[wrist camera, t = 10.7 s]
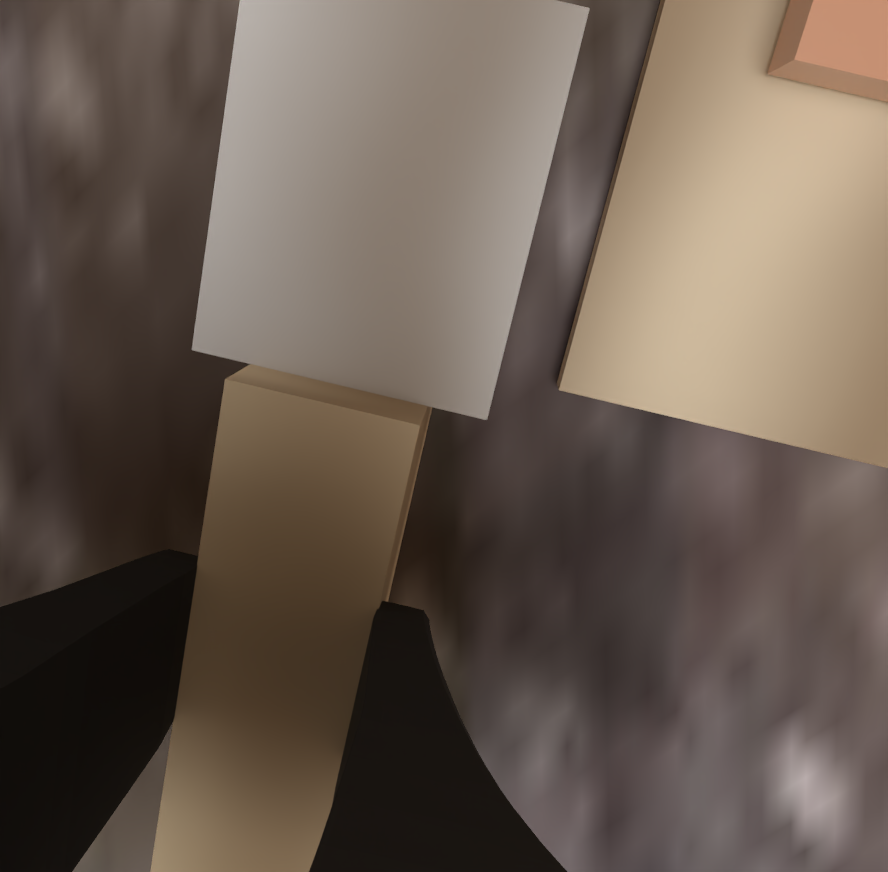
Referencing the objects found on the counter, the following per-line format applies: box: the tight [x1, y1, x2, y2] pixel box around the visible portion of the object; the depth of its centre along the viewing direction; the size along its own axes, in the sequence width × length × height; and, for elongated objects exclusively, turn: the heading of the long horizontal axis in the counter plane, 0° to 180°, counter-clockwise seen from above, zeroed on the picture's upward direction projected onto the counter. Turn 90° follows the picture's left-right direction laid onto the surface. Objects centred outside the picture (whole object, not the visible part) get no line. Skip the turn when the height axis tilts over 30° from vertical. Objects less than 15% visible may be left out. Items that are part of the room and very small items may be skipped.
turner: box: [150, 0, 590, 872], centre depth 12 cm, size 4×14×3 cm, turn 167°
